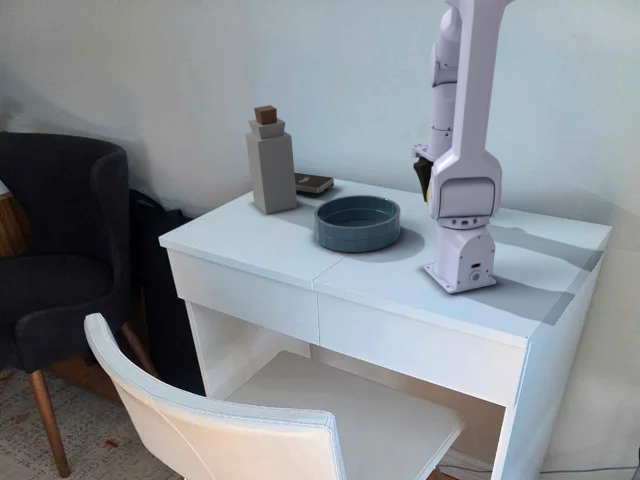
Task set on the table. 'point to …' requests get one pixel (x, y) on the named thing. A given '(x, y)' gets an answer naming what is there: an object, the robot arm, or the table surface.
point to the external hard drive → (312, 184)
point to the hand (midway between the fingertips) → (441, 204)
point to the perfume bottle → (271, 162)
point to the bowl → (357, 223)
